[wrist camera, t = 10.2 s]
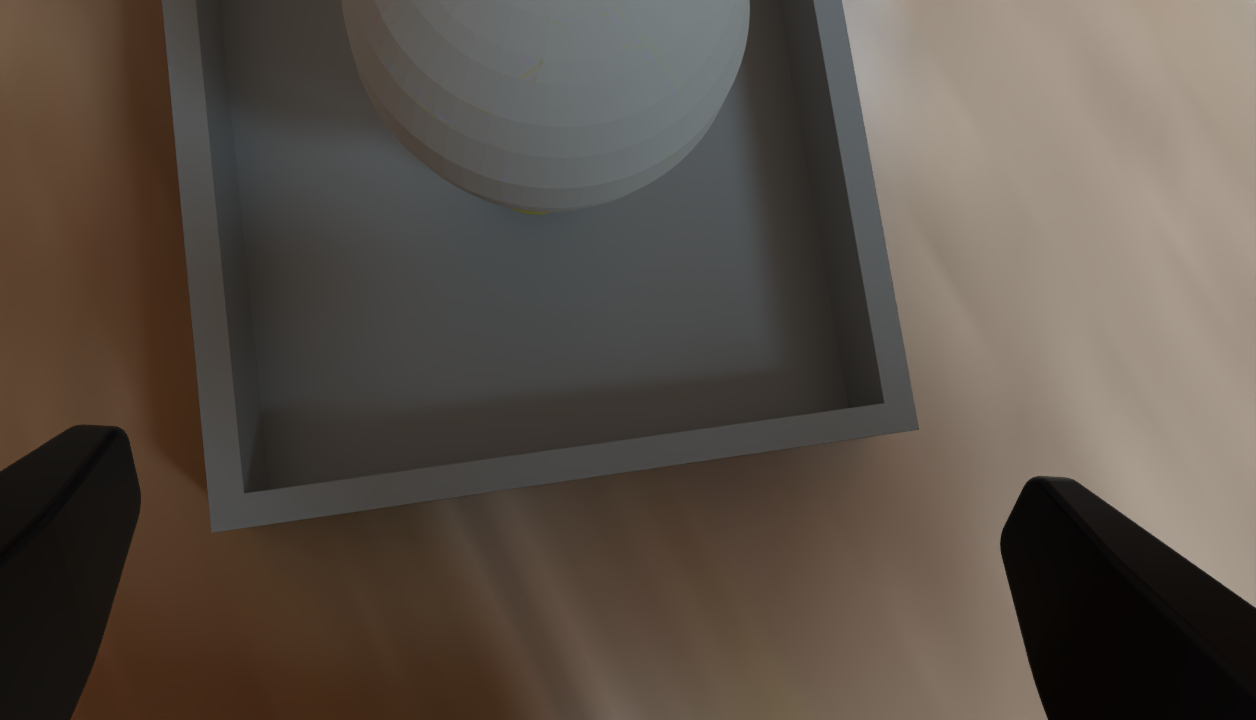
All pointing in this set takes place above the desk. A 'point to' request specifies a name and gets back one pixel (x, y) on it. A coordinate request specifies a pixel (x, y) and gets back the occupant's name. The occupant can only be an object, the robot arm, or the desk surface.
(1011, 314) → the desk surface
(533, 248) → the tray
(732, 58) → the light bulb
